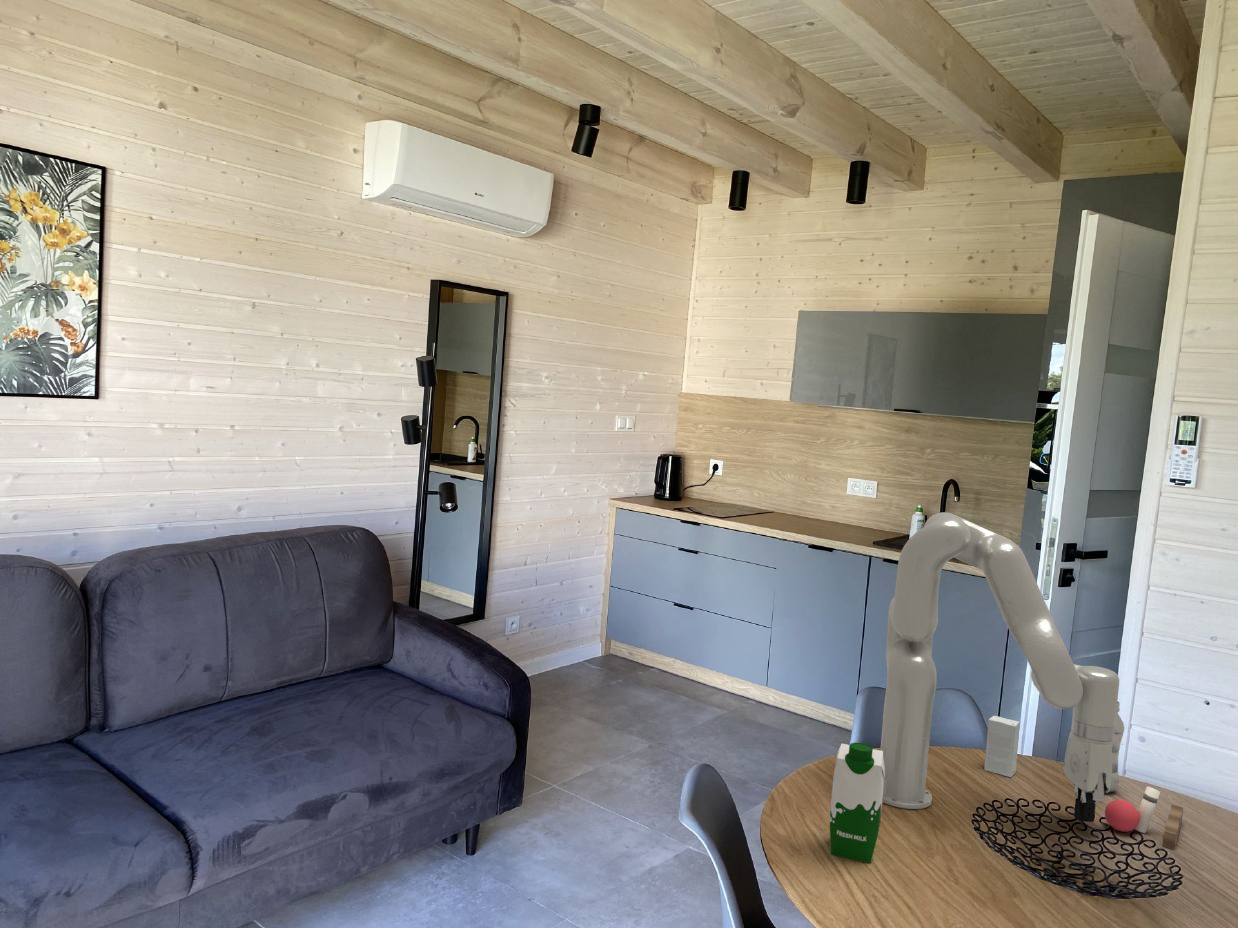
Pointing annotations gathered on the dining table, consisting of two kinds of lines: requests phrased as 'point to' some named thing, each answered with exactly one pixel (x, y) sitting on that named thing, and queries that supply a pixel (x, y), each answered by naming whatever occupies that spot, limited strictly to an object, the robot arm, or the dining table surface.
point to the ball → (1122, 815)
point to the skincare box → (1002, 746)
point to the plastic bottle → (1116, 749)
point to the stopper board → (1172, 827)
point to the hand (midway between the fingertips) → (1083, 819)
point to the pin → (1147, 808)
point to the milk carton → (856, 801)
